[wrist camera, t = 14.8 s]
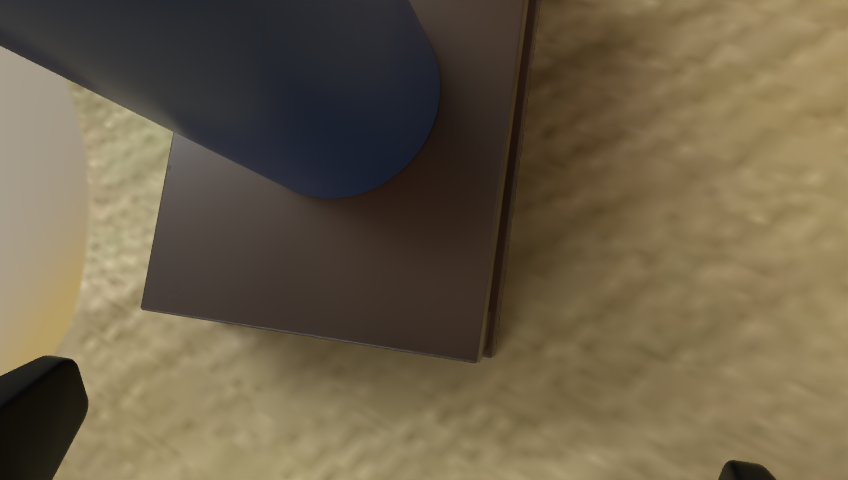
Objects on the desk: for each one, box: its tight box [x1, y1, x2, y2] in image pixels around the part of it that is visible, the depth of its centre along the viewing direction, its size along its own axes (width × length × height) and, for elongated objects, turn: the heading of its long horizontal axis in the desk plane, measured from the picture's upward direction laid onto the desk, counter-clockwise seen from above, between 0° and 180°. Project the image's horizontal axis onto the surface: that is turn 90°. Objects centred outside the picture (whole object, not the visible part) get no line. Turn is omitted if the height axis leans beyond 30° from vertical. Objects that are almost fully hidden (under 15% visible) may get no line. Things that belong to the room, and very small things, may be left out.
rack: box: [141, 0, 541, 363], centre depth 21 cm, size 14×10×4 cm
